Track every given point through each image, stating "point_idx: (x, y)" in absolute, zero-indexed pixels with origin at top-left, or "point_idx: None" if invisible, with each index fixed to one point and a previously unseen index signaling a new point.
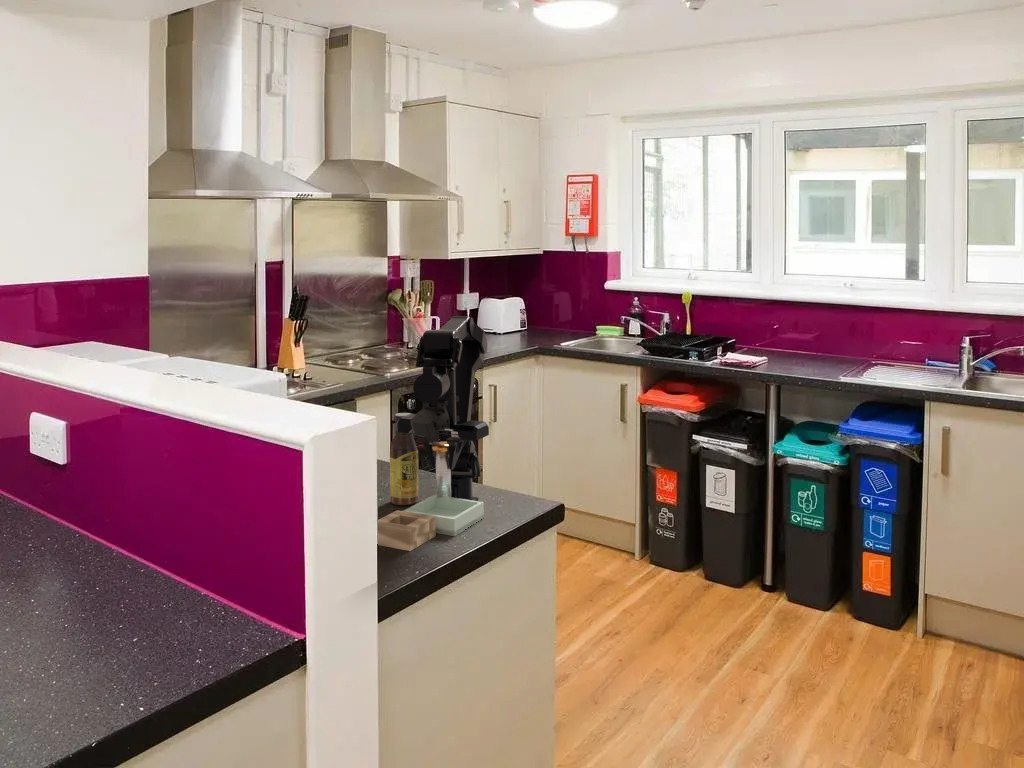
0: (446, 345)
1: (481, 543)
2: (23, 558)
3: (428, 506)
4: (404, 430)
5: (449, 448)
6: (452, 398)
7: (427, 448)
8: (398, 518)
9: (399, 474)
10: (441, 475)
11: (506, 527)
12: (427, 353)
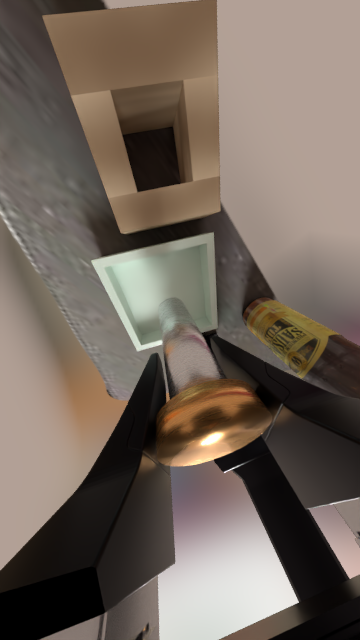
0: None
1: (34, 259)
2: None
3: (207, 302)
4: None
5: (138, 440)
6: None
7: (273, 377)
8: (190, 174)
9: (292, 321)
10: (172, 325)
11: (86, 333)
12: None
